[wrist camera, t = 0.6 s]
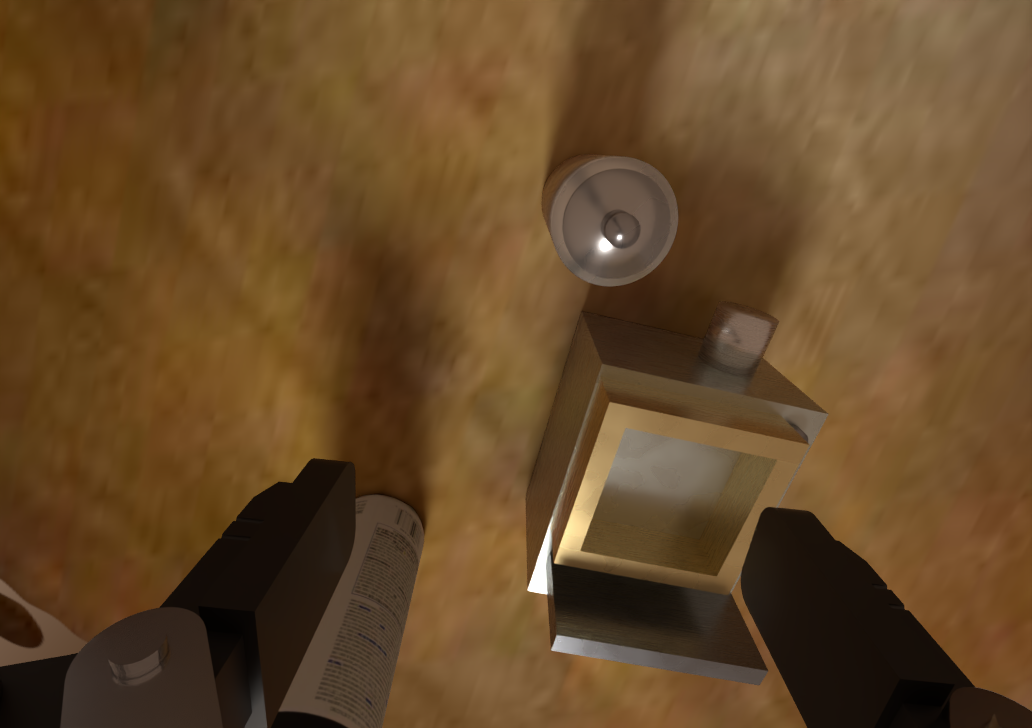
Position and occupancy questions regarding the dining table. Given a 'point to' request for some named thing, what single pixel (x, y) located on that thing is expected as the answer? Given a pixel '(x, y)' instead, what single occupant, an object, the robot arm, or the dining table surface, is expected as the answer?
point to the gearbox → (662, 489)
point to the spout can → (609, 217)
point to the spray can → (360, 625)
